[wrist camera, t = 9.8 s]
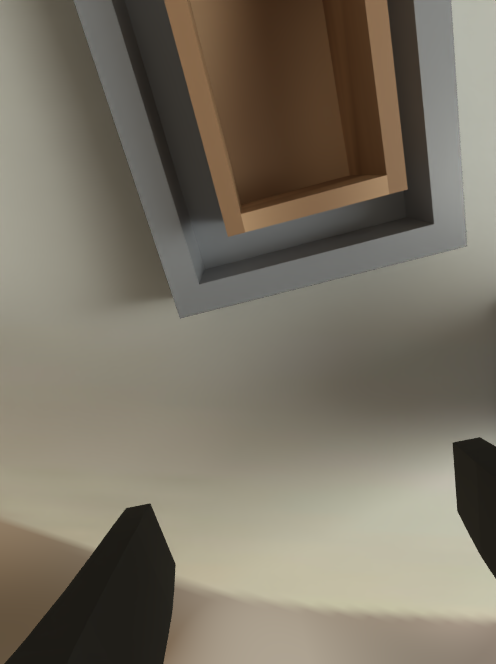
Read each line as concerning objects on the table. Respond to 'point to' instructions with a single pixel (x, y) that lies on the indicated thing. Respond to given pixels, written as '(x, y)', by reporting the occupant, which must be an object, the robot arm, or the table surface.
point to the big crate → (295, 235)
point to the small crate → (292, 104)
